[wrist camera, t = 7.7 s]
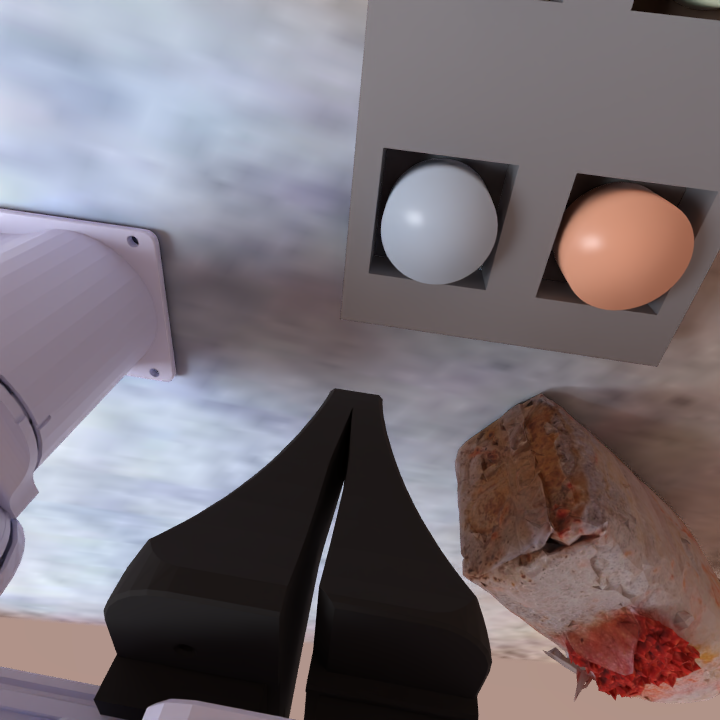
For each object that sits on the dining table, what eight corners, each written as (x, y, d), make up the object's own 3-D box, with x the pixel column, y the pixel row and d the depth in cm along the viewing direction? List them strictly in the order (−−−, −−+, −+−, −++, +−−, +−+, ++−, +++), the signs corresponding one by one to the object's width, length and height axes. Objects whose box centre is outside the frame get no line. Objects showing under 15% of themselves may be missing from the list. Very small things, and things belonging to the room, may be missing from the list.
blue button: (380, 255, 20) (374, 276, 18) (393, 150, 18) (389, 163, 16) (477, 269, 20) (482, 291, 18) (503, 165, 17) (511, 179, 16)
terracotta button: (539, 278, 20) (550, 301, 18) (573, 174, 17) (589, 189, 15) (640, 292, 19) (661, 317, 17) (687, 189, 17) (717, 206, 15)
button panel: (347, 298, 22) (340, 319, 20) (409, -356, 12) (405, -422, 10) (639, 341, 21) (657, 366, 20) (960, -313, 11) (1051, -376, 10)
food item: (709, 523, 27) (832, 735, 18) (581, 577, 30) (636, 773, 22) (553, 374, 23) (622, 558, 15) (430, 456, 27) (428, 639, 18)
